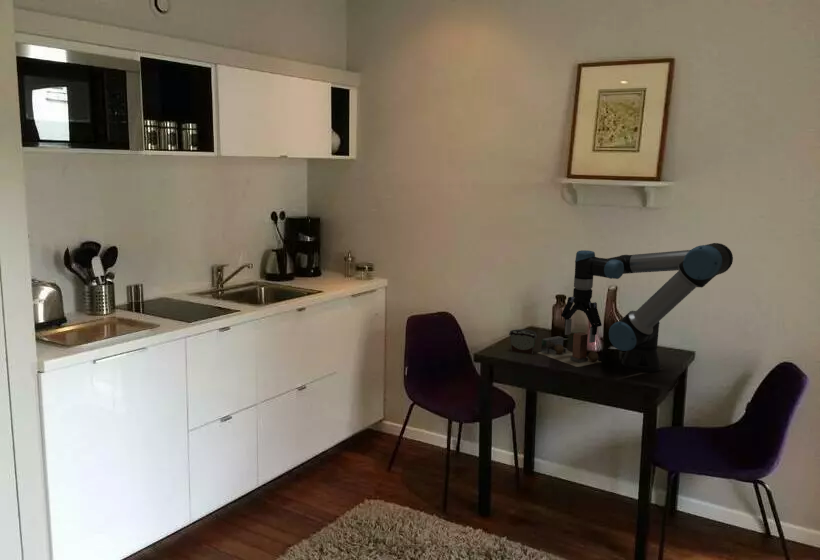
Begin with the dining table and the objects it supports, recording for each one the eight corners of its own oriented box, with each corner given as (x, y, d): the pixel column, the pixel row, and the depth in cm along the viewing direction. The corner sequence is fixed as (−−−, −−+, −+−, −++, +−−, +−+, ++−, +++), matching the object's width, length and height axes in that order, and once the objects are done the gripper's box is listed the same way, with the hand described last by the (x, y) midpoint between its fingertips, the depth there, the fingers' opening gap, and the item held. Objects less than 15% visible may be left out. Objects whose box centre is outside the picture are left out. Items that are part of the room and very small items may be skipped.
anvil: (569, 352, 301) (569, 339, 299) (552, 356, 295) (552, 342, 294) (557, 349, 306) (558, 335, 305) (541, 352, 301) (541, 338, 300)
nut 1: (565, 354, 298) (566, 344, 298) (558, 355, 296) (559, 346, 295) (558, 351, 302) (559, 342, 301) (551, 353, 300) (552, 343, 299)
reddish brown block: (588, 361, 288) (589, 334, 286) (579, 363, 286) (580, 336, 284) (579, 358, 292) (580, 331, 290) (570, 359, 290) (571, 333, 288)
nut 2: (600, 361, 288) (600, 352, 287) (593, 363, 286) (593, 353, 285) (592, 359, 291) (593, 349, 291) (585, 360, 289) (586, 351, 288)
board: (601, 364, 288) (601, 361, 288) (577, 369, 281) (577, 367, 280) (560, 350, 308) (560, 348, 308) (536, 354, 300) (536, 352, 300)
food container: (539, 353, 303) (540, 331, 301) (535, 356, 298) (536, 334, 296) (512, 349, 308) (513, 327, 307) (508, 352, 303) (509, 330, 301)
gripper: (613, 292, 275) (609, 344, 279) (567, 282, 296) (564, 330, 300) (599, 294, 271) (596, 346, 275) (554, 283, 292) (551, 332, 296)
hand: (579, 338), depth 288 cm, fingers open, 13 cm apart
